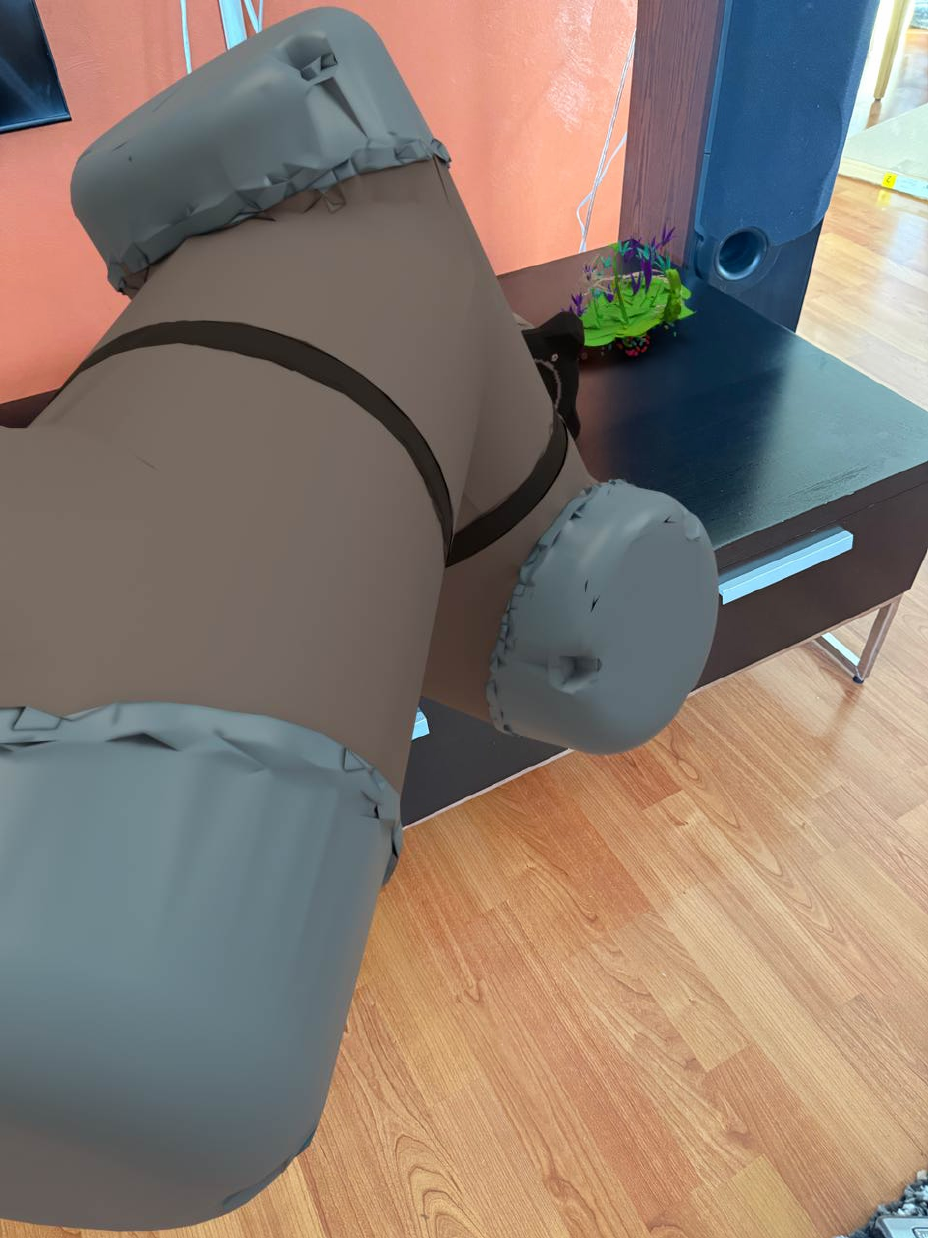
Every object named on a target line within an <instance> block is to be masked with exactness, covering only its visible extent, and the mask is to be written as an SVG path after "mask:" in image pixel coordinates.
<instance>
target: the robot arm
mask: <svg viewBox="0 0 928 1238" xmlns="http://www.w3.org/2000/svg"><path fill="white" fill-rule="evenodd" d="M451 162H453V160H452V157H451V156H450V153H449V151H448V148H447V146H446V145H445V144H444V143H443V142H442V141H440V140H438V139H437V138H435V136H434V134H433V132H432V130H431V128H430V126H429V125H428V123H427V121H426V118H425V116H424V115H423V113H422V112H421V110H420V108H419V106H418V104H417V103H416V101H415V99H414V97H413V96H412V93H411V91H410V90H409V87H408V86H407V84H406V81H405V80H404V77H402V74H401V73H400V71H399V69H398V68H397V66H396V63H395V61H394V60H393V58H392V56H391V54H390V52H389V50H388V49H387V47H386V45H385V43H384V41H383V40H382V38H381V36H380V35H379V33H378V31H376V29H375V28H374V27H373V26H372V25H371V24H370V23H369V22H368V21H366V20H365V19H364V18H363V17H361V16H360V15H359V14H357V13H355V12H353V11H351V10H349V9H346V8H342V7H338V6H332V5H331V6H330V5H329V6H317V7H313V8H308V9H305V10H303V11H300V12H298V13H295V14H293V15H291V16H289V17H286V18H284V19H282V20H280V21H278V22H276V23H274V24H271V25H270V26H268V27H266V28H264V29H262V30H260V31H259V32H257V33H255V34H253V35H251V36H249V37H247V38H246V39H244V40H242V41H241V42H239V43H237V44H236V45H233V46H232V47H230V48H229V49H227V50H225V51H224V52H222V53H220V54H219V55H217V56H216V57H214V58H212V59H211V60H209V61H207V62H205V63H203V64H202V65H201V66H199V67H197V68H196V69H194V70H193V71H191V72H189V73H188V74H186V75H184V76H183V77H181V78H180V79H179V80H177V81H175V82H174V83H172V84H171V85H169V86H168V87H166V88H164V89H163V90H162V91H160V92H158V93H157V94H155V95H154V96H153V97H151V98H150V99H148V100H147V101H145V102H144V103H143V104H141V105H139V106H138V107H137V108H135V109H134V110H133V111H132V112H130V113H129V114H127V115H126V116H124V117H123V118H122V119H121V120H119V121H118V122H117V123H115V124H114V125H113V126H111V127H110V128H108V130H106V131H105V132H104V133H102V134H101V135H100V136H98V138H96V139H95V140H93V142H92V143H90V145H88V147H87V148H85V150H84V151H83V152H82V153H81V154H80V155H79V157H77V160H76V161H75V165H74V168H73V171H72V173H71V177H70V184H69V190H70V191H69V193H70V205H71V208H72V211H73V214H74V216H75V218H76V219H77V220H78V221H79V223H80V225H81V226H82V228H83V230H84V231H85V233H86V235H87V236H88V238H89V240H90V241H91V242H92V244H93V246H94V248H95V249H96V250H97V253H98V254H99V256H100V257H101V259H102V260H103V262H104V264H105V266H106V270H107V277H106V279H107V282H108V283H109V284H110V285H111V287H112V288H113V290H115V292H116V293H121V295H122V296H127V298H128V299H129V300H130V302H129V303H128V304H127V306H126V307H125V308H124V309H123V311H122V312H121V313H120V314H119V315H118V317H117V318H116V319H115V320H114V321H113V323H112V324H111V325H110V326H109V328H108V329H107V330H106V332H104V334H103V335H102V337H101V338H100V339H99V340H98V342H96V344H95V345H94V346H93V348H92V349H91V350H90V351H89V353H88V354H86V357H84V359H83V360H82V361H81V363H79V365H78V366H77V368H76V369H75V370H74V371H73V372H72V373H71V374H70V376H68V378H67V379H66V380H65V382H63V384H62V385H61V386H60V387H59V389H58V390H57V391H56V392H55V393H54V395H53V396H52V398H51V399H50V400H48V402H47V406H46V407H45V409H43V410H42V412H40V413H39V415H37V417H36V418H35V419H34V420H33V421H32V422H31V423H30V424H29V425H28V426H27V427H26V428H25V427H23V428H22V427H21V428H20V427H18V428H17V427H14V428H13V427H6V426H3V425H0V1219H2V1220H8V1221H12V1222H19V1223H25V1224H30V1225H36V1226H44V1227H45V1226H46V1227H55V1228H69V1229H79V1230H91V1231H104V1232H105V1231H106V1232H118V1233H121V1232H158V1231H168V1230H176V1229H183V1228H188V1227H194V1226H197V1225H201V1224H203V1223H206V1222H210V1221H212V1220H215V1219H218V1218H220V1217H223V1216H225V1215H228V1214H230V1213H232V1212H233V1211H235V1210H238V1209H239V1208H241V1207H244V1206H245V1205H246V1204H248V1203H249V1202H251V1201H252V1200H253V1199H254V1198H255V1197H256V1196H258V1195H259V1194H260V1193H261V1192H263V1190H265V1189H266V1188H267V1187H268V1186H269V1185H270V1184H272V1183H273V1182H274V1181H276V1179H278V1177H280V1175H282V1174H284V1172H285V1171H286V1170H287V1169H288V1168H289V1166H290V1165H291V1163H292V1162H293V1161H294V1159H295V1158H297V1157H298V1156H300V1155H301V1154H302V1153H303V1152H304V1151H306V1150H307V1149H308V1148H309V1147H310V1146H311V1144H312V1141H313V1139H314V1138H315V1134H316V1131H317V1130H318V1127H319V1124H320V1122H321V1118H322V1116H323V1113H324V1110H325V1106H326V1103H327V1099H328V1095H329V1091H330V1088H331V1083H332V1079H333V1076H334V1071H335V1068H336V1064H337V1061H338V1056H339V1052H340V1049H341V1044H342V1041H343V1036H344V1032H345V1029H346V1024H347V1021H348V1017H349V1014H350V1010H351V1006H352V1001H353V997H354V994H355V990H356V986H357V983H358V978H359V975H360V970H361V966H362V962H363V959H364V955H365V951H366V947H367V943H368V940H369V935H370V931H371V929H372V925H373V919H374V915H375V913H376V907H377V904H378V900H379V896H380V892H381V889H382V888H383V887H385V886H387V884H388V883H389V882H390V881H391V878H392V876H393V874H394V873H395V871H396V868H397V865H398V863H399V860H400V857H401V853H402V849H403V845H404V835H405V834H404V829H403V824H402V818H401V817H402V816H401V799H402V793H403V788H404V783H405V778H406V772H407V768H408V762H409V757H410V752H411V747H412V740H413V735H414V731H415V730H414V729H415V725H416V720H417V715H418V709H419V704H420V699H421V697H424V698H426V699H429V700H431V701H433V702H436V703H439V704H441V705H444V706H446V707H449V708H451V709H454V710H456V711H458V712H461V713H463V714H466V715H469V716H471V717H472V718H476V719H479V720H481V721H483V722H486V723H488V724H491V725H493V727H494V728H495V730H497V731H499V732H500V733H502V734H504V735H507V736H511V737H514V738H515V737H517V738H528V739H531V740H536V741H539V742H543V743H546V744H550V745H554V746H558V747H562V748H565V749H569V750H574V751H577V752H580V753H583V754H587V755H592V756H614V755H621V754H625V753H628V752H631V751H633V750H636V749H638V748H639V747H641V746H643V745H645V744H647V743H648V742H650V741H651V740H653V739H655V738H656V737H657V736H658V735H659V734H660V733H662V732H663V730H665V729H666V728H667V727H668V726H669V725H670V724H671V723H672V721H673V720H674V719H675V718H676V717H677V716H678V714H679V712H680V710H681V708H682V706H683V705H684V703H685V702H686V700H687V698H688V696H689V695H690V693H691V692H692V690H693V689H695V688H696V686H697V684H698V682H699V680H700V678H701V676H702V673H703V671H704V669H705V666H706V664H707V661H708V658H709V655H710V651H711V649H712V645H713V641H714V637H715V633H716V627H717V621H718V613H719V604H720V603H719V602H720V601H719V599H720V586H719V585H720V584H719V571H718V564H717V559H716V554H715V551H714V547H713V544H712V541H711V538H710V537H709V535H708V533H707V530H706V528H705V526H704V525H703V523H702V521H701V520H700V519H699V517H698V516H697V515H695V514H694V513H692V512H691V511H689V510H688V508H687V507H685V506H684V505H683V504H682V503H681V502H679V501H678V500H677V499H676V498H674V497H672V496H671V495H669V494H667V493H666V492H661V491H656V490H651V489H646V488H643V487H637V486H636V485H635V484H634V483H633V484H632V483H628V482H627V480H626V478H618V479H617V478H616V479H613V478H610V479H609V480H608V482H606V481H605V482H600V481H598V480H597V479H595V478H594V477H592V476H591V474H590V473H589V472H588V470H587V468H586V465H585V462H584V461H583V459H582V457H581V454H580V452H579V450H578V447H577V445H576V441H575V442H574V440H573V438H572V436H571V434H570V432H569V431H568V429H567V427H566V425H565V423H564V421H563V419H562V417H561V415H559V414H558V413H557V411H556V408H555V406H554V404H553V402H552V400H551V398H550V396H549V394H548V391H547V389H546V387H545V385H544V382H543V380H542V378H541V376H540V374H539V371H538V369H537V367H536V365H535V362H534V360H533V358H532V356H531V353H530V351H529V349H528V347H527V344H526V342H525V340H524V338H523V335H522V333H521V331H520V329H519V327H518V324H517V322H516V320H515V318H514V315H513V313H514V312H513V311H512V308H511V306H510V305H509V302H508V300H507V298H506V296H505V294H504V291H503V289H502V286H501V284H500V282H499V280H498V278H497V275H496V273H495V271H494V269H493V266H492V264H491V262H490V259H489V257H488V255H487V253H486V250H485V249H484V246H483V244H482V242H481V240H480V237H479V234H478V232H477V230H476V228H475V225H474V223H473V222H472V219H471V217H470V214H469V212H468V210H467V208H466V206H465V204H464V202H463V199H462V197H461V194H460V192H459V190H458V187H457V185H456V183H455V181H454V179H453V177H452V174H451V172H450V169H451V164H450V163H451ZM512 312H513V313H512Z"/></svg>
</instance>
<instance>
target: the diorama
mask: <svg viewBox="0 0 928 1238" xmlns="http://www.w3.org/2000/svg"><path fill="white" fill-rule="evenodd" d="M666 225H667V224H665V225H664V226H663V227H664V228H663V230H662V231H663V232H662V234H661V242H659V243H657V244H656V236H654V237H653V239H652V241H651V242H650V241H649V240H647V242H644V243H643V244H642V246H644V248H643V249H642V248H641V247H640V243H641V240H642V237H639V239H638V240H637V241H636V243H635V245H634V247H633V235H631V236H630V240H628V241H627V242H625V243H624V245H623V247H622V243H621V241H620V239H618V242H614V243H611V244H608V246H606V247H605V248H604V249H603V250H602V252H604V251H606V250H607V249H608V248H613V249H614V253H613V262H612V263H611V258H612V257H611V256H609V257H608V258H607V259H606V261H605V259H604V257H603V256H602V253H601V252H598V253H597V255H596V256H595V258H594V259H591V264H590V265H588V263H587V262H583V264H582V265H581V267H582V273H583V275H582V276H581V277H580V278H579V281H580V282H581V283H580V282H577V283H576V284H575V285H574V286H573V291H576V288H577V286H578V285H579V283H580V285H579V286H578V289H577V292H576V293H577V295H576V297H574V296H573V294H572V293H570V295H568V297H569V298H570V299H571V300H572V302H573V303H574V305H573V306H572V303H570V305H569V307H568V311H571V312H573V313H575V314H576V315H577V316H578V317H579V318H580V319H581V320H582V321H583V327H584V336H585V343H584V346H587V348H590V347H598V346H602V347H601V350H602V352H600V353H601V354H600V355H601V356H604V355H605V353H604V352H603V350H604V349H605V346H604V345H608V350H609V351H610V350H611V348H612V344H611V342H612V341H613V342H616V341H617V340H616V338H621V341H622V343H619V342H618V343H616V346H617V347H618V348H619V349H620V350H622V349H624V348H623V347H624V346H625V347H628V348H631V350H627V349H625V350H624V352H625V355H627V356H628V357H631V356H632V357H633V356H635V357H636V356H638V355H639V353H638V352H640V353H644V352H646V351H647V349H648V347H647V346H644V347H643V348H642V349H640V347H642V346H643V343H645V344H646V345H649V344H650V343H649V339H650V336H649V335H648V333H647V332H648V331H649V330H650V329H653V330H655V328H656V326H657V325H658V326H659V327H661V326H662V324H663V322H666V324H667V325H663V326H664V328H665V330H668V329H669V327H672V328H674V326H675V324H674V322H675V321H677V320H679V321H682V320H684V319H686V318H688V317H690V316H693V315H694V314H696V313H697V310H694V311H692V310H691V309H689V308H687V306H686V305H685V300H689V298H691V297H692V292H691V290H690V289H688V288H687V287H686V286H684V285H683V284H682V281H681V277H680V275H679V272H678V271H677V268H671V256H669V251H668V250H666V252H665V253H666V259H665V261H666V263H665V261H664V259H663V258H662V257H661V256H660V254H658V253H657V251H656V250H662V248H661V247H665V246H666V245H667V244H668V243H669V242H670V241H671V240H672V239H673V238H677V237H678V235H673V232H674V230H675V228H676V227H677V226H674V227H673V228H671V229H670V230H669V232H668V233H666V232H667V228H666ZM666 234H667V235H666ZM672 235H673V236H672ZM655 244H656V246H655ZM628 245H629V247H628ZM661 245H662V246H661ZM660 246H661V247H660ZM628 251H629V255H628ZM637 251H638V255H637V254H636V253H637ZM618 253H619V254H620V256H621V257H622V259H621V261H623V263H624V265H627V264H628V263H629V261H630V260H631V259H632V258H634V257H633V256H637V260H639V266H640V267H639V271H637V272H631V271H630V270H628V272H629V273H628V274H627V275H625V274H623V264H621V266H620V275H619V273H618V270H617V265H618V259H617V257H616V255H617V254H618ZM600 258H601V262H599V259H600ZM656 259H658V261H659V263H660V264H659V263H658V261H656ZM598 262H599V263H598ZM601 263H602V267H603V268H604V269H606V270H605V271H604V270H603V269H602V270H601V271H600V272H599V273H598V269H599V267H600V265H601ZM594 264H595V265H594ZM655 264H656V265H657V266H659V268H660V269H661V270H662V271H661V270H658V269H653V266H654V265H655ZM612 266H613V269H612V272H613V276H612V275H606V273H607V270H608V268H610V267H612ZM627 268H629V265H628V267H627ZM653 272H655V273H661V274H660V275H659V274H658V275H653ZM604 281H611V284H609V283H607V286H606V287H605V286H604ZM600 282H602V283H601V285H600ZM582 286H584V287H585V288H587V289H584V288H583V287H582ZM598 287H599V288H598ZM581 289H582V290H581ZM583 291H584V293H583ZM586 291H587V292H586ZM590 294H591V295H590ZM584 296H587V297H586V298H587V300H586V301H587V304H585V305H584V306H583V308H582V307H581V305H582V303H583V299H584ZM591 296H592V297H591ZM576 307H577V309H576ZM560 309H561V312H564V311H566V310H565V309H563V308H562V307H560ZM575 311H576V312H575ZM672 335H673V337H677V332H675V331H674V332H673V333H672ZM643 337H644V338H643ZM633 338H636V341H634V339H633ZM637 341H638V342H639V343H638V345H639V346H640V347H639V346H638V345H637ZM622 344H623V345H624V346H623V345H622ZM633 346H635V349H633V348H632V347H633ZM580 358H581V360H586V359H587V358H588V355H587V352H585V351H582V352H581V353H580ZM580 358H578V361H580Z"/></svg>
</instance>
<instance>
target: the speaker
mask: <svg viewBox="0 0 928 1238" xmlns="http://www.w3.org/2000/svg"><path fill="white" fill-rule="evenodd" d="M573 312H574V311H573ZM573 312H571V311H569V310H565V311H564V312H563V311H559V312H558V313H556V314H555V315H553V316H552V317H551V318H549V319H548V320H547V321H545V322H543V323H542V324H541V325H539V326H538V327H537V326H535V325H534V324H532V323H530V322H529V321H527V320H526V319H524V318H523V317H522V316H520V315H519V314H517V313H515V312H513V311H512V313H513V315H514V318H515V320H516V322H517V324H518V327H519V329H520V331H521V333H522V335H523V338H524V340H525V342H526V344H527V347H528V349H529V351H530V353H531V356H532V358H533V360H534V362H535V365H536V367H537V369H538V371H539V374H540V376H541V378H542V380H543V382H544V385H545V387H546V389H547V391H548V394H549V396H550V398H551V400H552V402H553V404H554V406H555V408H556V411H557V413H558V414H559V415H561V417H562V419H563V421H564V423H565V425H566V427H567V429H568V431H569V432H570V434H571V436H572V438H573V440H574V442H575V443H576V440H577V439H578V437H579V436H580V432H581V427H582V425H581V424H582V423H581V420H580V418H579V414H578V411H577V406H576V405H577V397H578V392H579V387H580V371H579V370H580V369H579V364H578V362H579V360H578V359H579V355H581V353H582V351H583V349H584V347H585V345H584V343H585V336H584V327H583V321H582V320H581V319H580V318H579V317H578V316H577V315H576V312H574V313H573Z"/></svg>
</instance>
